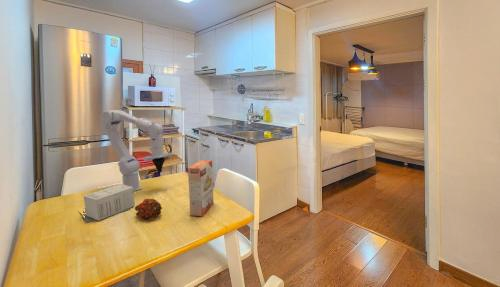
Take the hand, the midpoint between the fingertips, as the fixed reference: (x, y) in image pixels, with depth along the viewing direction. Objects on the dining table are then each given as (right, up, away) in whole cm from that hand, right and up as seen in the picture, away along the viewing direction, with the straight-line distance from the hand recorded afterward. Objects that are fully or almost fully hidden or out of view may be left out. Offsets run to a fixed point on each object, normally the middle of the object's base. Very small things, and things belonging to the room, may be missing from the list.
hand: (159, 172), depth 134 cm
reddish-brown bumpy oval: (+6, -16, -28) cm, 33 cm away
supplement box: (-9, -9, -16) cm, 20 cm away
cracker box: (+27, -14, -22) cm, 38 cm away
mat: (-17, -15, -21) cm, 31 cm away
